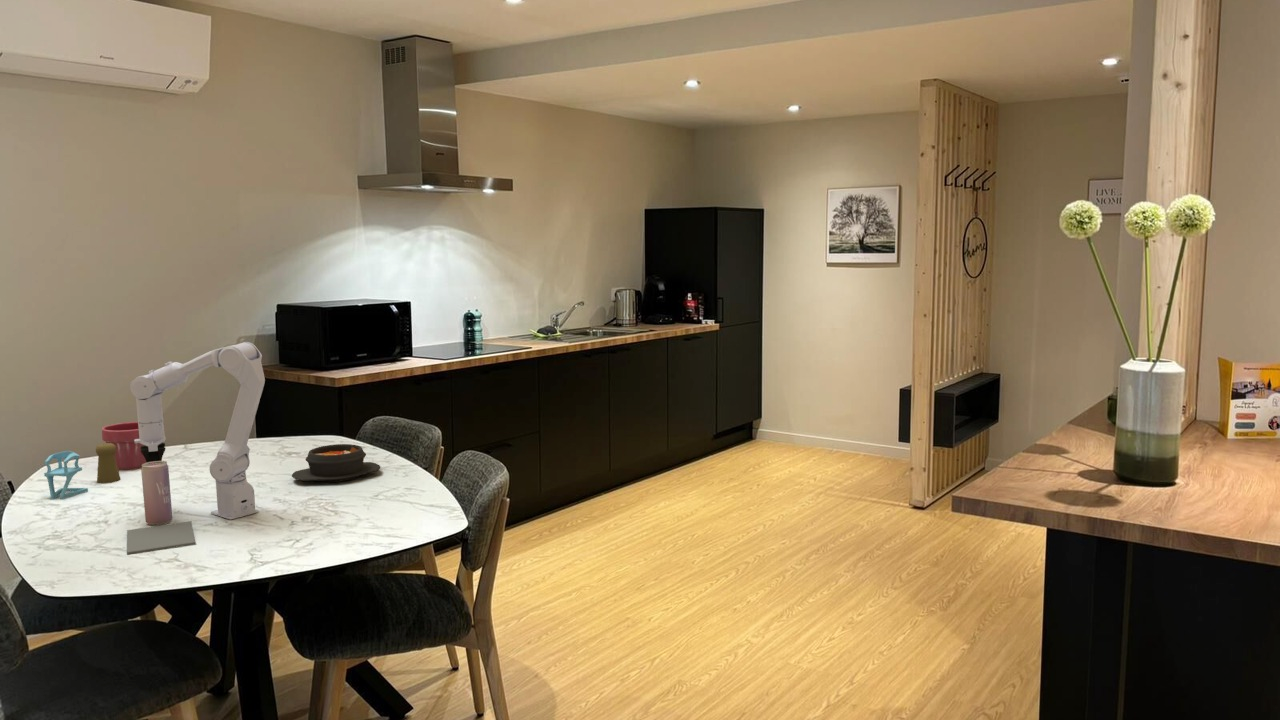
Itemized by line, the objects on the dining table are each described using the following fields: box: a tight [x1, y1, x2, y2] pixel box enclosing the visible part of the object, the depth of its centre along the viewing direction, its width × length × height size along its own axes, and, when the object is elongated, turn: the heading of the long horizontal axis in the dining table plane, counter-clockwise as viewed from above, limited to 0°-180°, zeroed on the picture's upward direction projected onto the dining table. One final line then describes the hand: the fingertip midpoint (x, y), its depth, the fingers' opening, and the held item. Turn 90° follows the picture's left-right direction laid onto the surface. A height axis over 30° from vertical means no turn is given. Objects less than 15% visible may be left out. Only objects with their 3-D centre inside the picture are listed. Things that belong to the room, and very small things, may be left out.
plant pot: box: [101, 421, 147, 471], centre depth 287 cm, size 14×14×13 cm
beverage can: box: [140, 460, 173, 526], centre depth 231 cm, size 6×6×15 cm
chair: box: [43, 450, 89, 500], centre depth 256 cm, size 8×8×12 cm
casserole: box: [291, 443, 381, 483], centre depth 272 cm, size 25×19×8 cm
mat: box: [126, 520, 197, 555], centre depth 219 cm, size 18×14×1 cm
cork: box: [95, 442, 121, 484], centre depth 270 cm, size 6×6×11 cm
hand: (155, 473), depth 238 cm, fingers open, 2 cm apart
